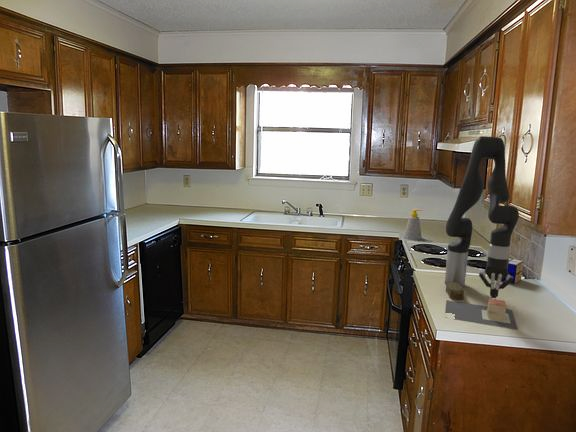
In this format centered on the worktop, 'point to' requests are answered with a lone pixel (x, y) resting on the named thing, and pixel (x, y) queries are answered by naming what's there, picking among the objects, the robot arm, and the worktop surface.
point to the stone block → (454, 291)
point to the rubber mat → (479, 314)
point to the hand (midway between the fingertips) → (493, 297)
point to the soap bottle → (413, 227)
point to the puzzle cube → (515, 270)
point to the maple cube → (496, 309)
